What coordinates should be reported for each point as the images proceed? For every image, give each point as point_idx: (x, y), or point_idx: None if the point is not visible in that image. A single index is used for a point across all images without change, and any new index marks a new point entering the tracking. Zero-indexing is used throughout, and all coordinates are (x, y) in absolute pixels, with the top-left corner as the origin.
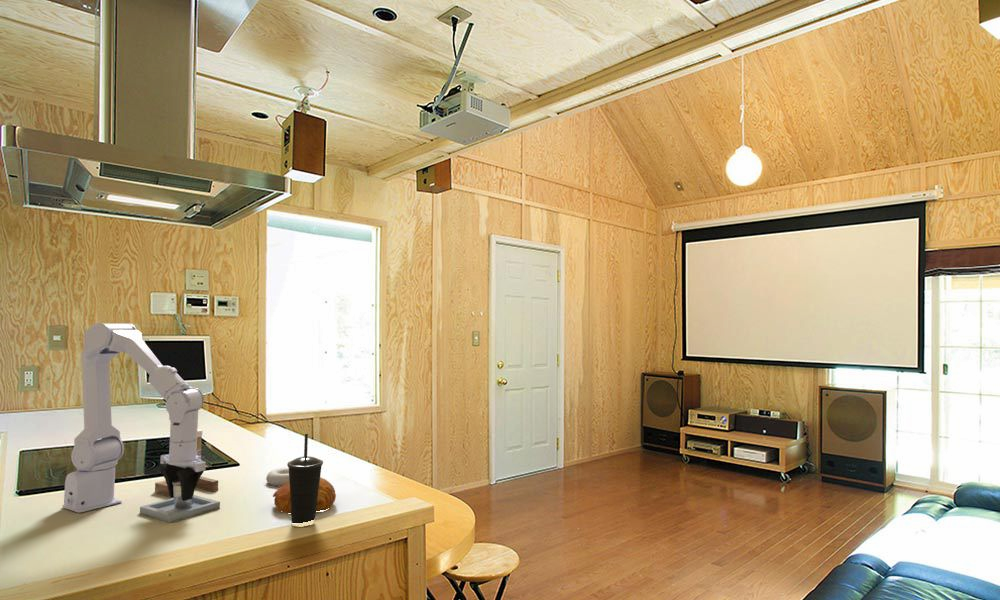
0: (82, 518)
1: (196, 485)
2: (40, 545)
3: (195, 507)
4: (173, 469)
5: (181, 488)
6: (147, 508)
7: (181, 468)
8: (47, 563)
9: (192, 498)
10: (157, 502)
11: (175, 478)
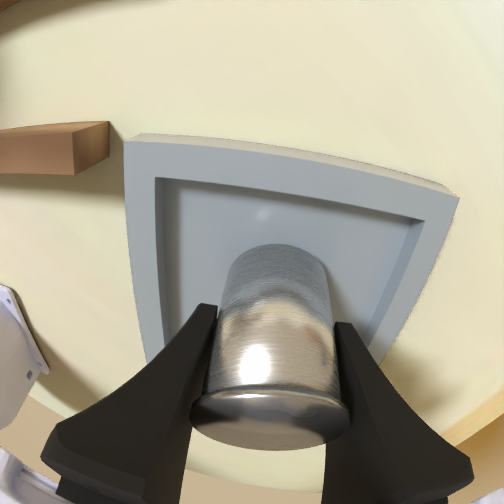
0: (91, 391)
1: (6, 3)
2: (205, 463)
3: (391, 314)
4: (172, 502)
5: None
6: None
7: (161, 479)
8: (292, 480)
9: (328, 296)
10: (144, 321)
11: (183, 427)
